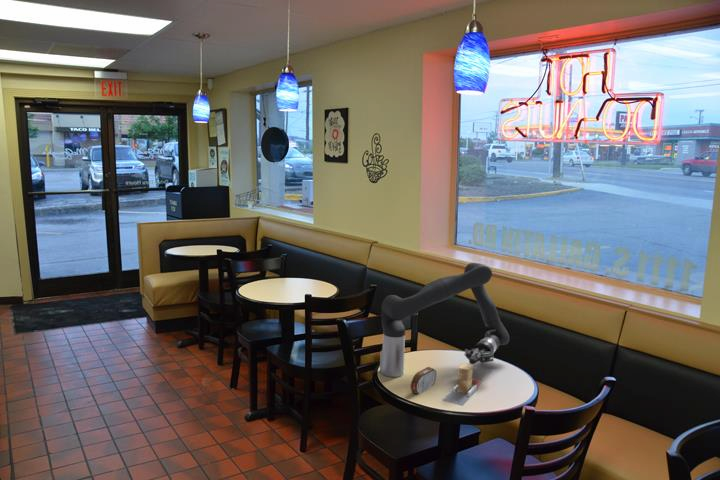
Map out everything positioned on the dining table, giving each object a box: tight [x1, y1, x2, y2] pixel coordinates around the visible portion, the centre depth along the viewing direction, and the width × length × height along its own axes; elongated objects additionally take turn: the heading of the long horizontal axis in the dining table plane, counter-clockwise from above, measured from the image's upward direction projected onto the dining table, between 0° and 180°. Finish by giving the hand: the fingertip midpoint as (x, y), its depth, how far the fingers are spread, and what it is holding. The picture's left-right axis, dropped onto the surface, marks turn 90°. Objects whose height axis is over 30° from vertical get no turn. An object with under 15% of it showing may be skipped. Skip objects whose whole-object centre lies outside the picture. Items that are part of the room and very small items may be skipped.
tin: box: [410, 366, 437, 395], centre depth 214 cm, size 15×3×8 cm, turn 141°
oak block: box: [457, 363, 474, 394], centre depth 213 cm, size 4×5×10 cm
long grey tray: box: [442, 378, 482, 407], centre depth 213 cm, size 8×23×2 cm, turn 149°
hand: (471, 361), depth 218 cm, fingers closed
